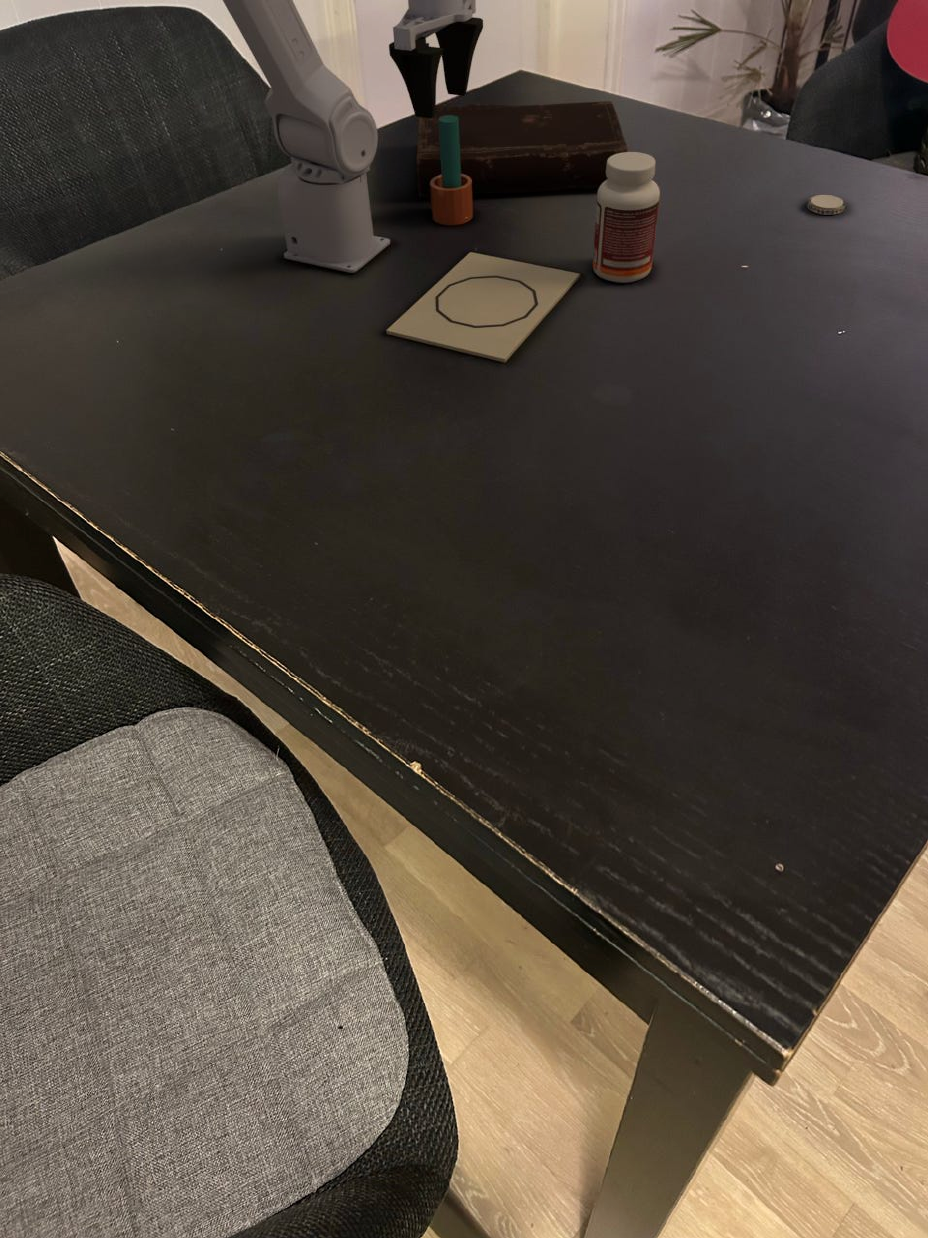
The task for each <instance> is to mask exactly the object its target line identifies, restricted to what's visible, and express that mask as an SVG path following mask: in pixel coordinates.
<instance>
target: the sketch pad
mask: <svg viewBox="0 0 928 1238" xmlns="http://www.w3.org/2000/svg"><path fill="white" fill-rule="evenodd" d="M580 276H581V273H577V272H573V271H568V270H563V269H558V268H552V267H546V266H542V265H538V264H532V263H527V262H522V261H517V260H513V259H508V258H502V257H497V256H492V255H488V254H482V253H477V252H472V251H470V252H469V253H467V254H466V255H465V256H464V257H463V258H462V259H461V260H460V261H459V262H458V263H457V264H456V265H454V267H452V269H450V270H449V271H448V272H447V273H446V274H445V275H443V277H442V278H441V279H440V280H438V281H437V282H436V284H434V285H432V287H431V288H430V289H429V290H427V292H426V293H425V294H424V295H422V296H421V297H420V298H419V299H418V300H417V301H416V302H415V303H414V304H413V305H412V306H411V307H410V308H409V309H407V310H406V311H405V312H404V313H403V314H402V315H401V316H400V317H399V318H398V319H397V320H396V321H395V322H394V323H392V324H391V325H390V326H389V327H388V328H387V329H386V335H390V336H392V337H393V336H394V337H399V338H402V339H406V340H410V341H415V342H419V343H422V344H426V345H431V346H434V347H439V348H444V349H447V350H451V351H454V352H455V351H456V352H460V353H464V354H468V355H472V356H477V357H479V358H480V357H481V358H483V359H489V360H492V361H497V362H500V363H505V364H506V362H507V361H509V359H510V358H511V356H513V354H514V353H515V352H516V351H517V350H518V349H519V347H521V345H522V344H523V343H524V342H525V341H526V340H527V338H528V337H529V336H530V335H531V334H532V333H533V331H534V330H535V329H536V328H537V327H538V326H539V324H540V323H542V321H543V320H545V318H546V316H547V315H548V314H549V313H550V312H551V311H552V309H553V308H555V306H556V305H557V304H558V303H559V302H560V301H561V299H562V298H563V297H564V296H565V294H567V292H569V290H570V289H571V288H572V287H573V286H574V284H575V283H576V282H577V281H578V280H579V279H580Z"/></svg>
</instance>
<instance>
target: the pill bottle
mask: <svg viewBox="0 0 928 1238" xmlns="http://www.w3.org/2000/svg"><path fill="white" fill-rule="evenodd" d="M655 174H656V159H655V157H653V156H652V155H650V154H648V153H644V152H639V151H628V152H624V153H618V154H615V155H612V156H611V157H609V158H608V160H607V166H606V176H607V178H608V179H607V180H606V181H604V182H603V183H602V184H601V186H600V187H599V188H597V193H596V208H595V222H594V223H595V224H594V237H593V238H594V239H593V256H592V269H593V272H594V273H595V274H596V275H597V276H598V277H599V278H601V279H603V280H605V281H609V282H613V283H620V284H621V283H623V284H625V283H627V284H628V283H633V282H636V281H640V280H641V279H642V280H643V279H644V278H645V277H647V276H648V275H649V274H650V272H651V270H652V266H653V260H654V259H653V257H654V252H655V251H654V250H655V242H656V231H657V223H658V214H659V208H660V206H659V205H660V195H661V191H660V187H659V185H658V183H656V181H654V180H653V179H654V177H655Z"/></svg>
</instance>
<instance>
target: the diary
mask: <svg viewBox="0 0 928 1238" xmlns="http://www.w3.org/2000/svg"><path fill="white" fill-rule="evenodd" d="M445 115H454V116H457V117H458V120H459V143H460V165H461V174H464V175H467V176H469V177H470V178H471V179H472V192H473V194H489V193H490V194H495V193H496V194H497V193H503V194H505V193H532V192H542V191H543V192H544V191H554V190H568V189H599V187H600V186H601V184H602V183H603V182H604V181H606V180H607V179H608V178H607V176H606V166H607V160H608V158H609V157H611V156H612V155H615V154H618V153H624V152H629V149H628V146H627V142H626V140H625V137H624V133H623V130H622V127H621V126H622V125H621V122H620V120H619V117H618V114H617V110H616V108H615V106H614V104H613V101H611V100H604V101H602V100H601V101H586V102H585V101H584V102H583V101H582V102H565V103H564V102H563V103H546V104H544V103H543V104H526V105H524V104H523V105H512V104H511V105H507V104H506V105H505V104H483V103H482V104H481V103H466V104H463V103H462V104H450V105H449V104H447V105H436V107H435V114H434V117H433V118H431V119H429V118H422V117H418V118H419V119H418V130H417V146H416V147H417V148H416V160H415V161H416V163H415V164H416V178H417V189H418V197H419V198H431V192H430V181H431V180H432V179H433V178H434V177H436V176H439V175H442V172H441V156H440V139H439V122H438V119H439V118H440V117H442V116H445Z"/></svg>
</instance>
